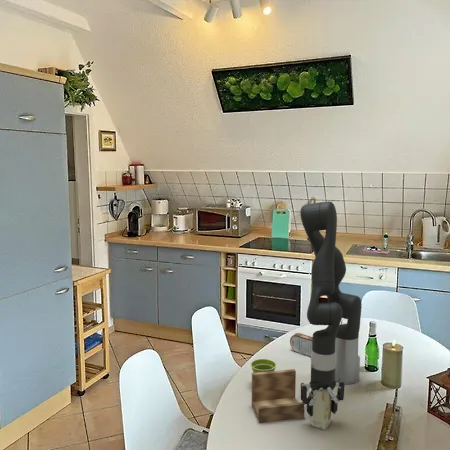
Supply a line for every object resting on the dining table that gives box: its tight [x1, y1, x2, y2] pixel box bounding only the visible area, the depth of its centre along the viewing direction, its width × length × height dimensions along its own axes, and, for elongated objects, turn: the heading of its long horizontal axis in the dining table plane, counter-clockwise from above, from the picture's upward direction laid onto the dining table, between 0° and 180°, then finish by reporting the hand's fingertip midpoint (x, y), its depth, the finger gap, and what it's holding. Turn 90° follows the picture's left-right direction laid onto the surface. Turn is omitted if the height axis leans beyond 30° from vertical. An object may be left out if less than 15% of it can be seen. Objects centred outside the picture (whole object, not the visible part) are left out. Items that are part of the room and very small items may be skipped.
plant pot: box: [250, 358, 277, 373], centre depth 171 cm, size 9×9×9 cm
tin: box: [289, 332, 313, 358], centre depth 199 cm, size 15×3×8 cm, turn 47°
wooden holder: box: [251, 368, 305, 424], centre depth 153 cm, size 15×10×12 cm
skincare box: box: [311, 389, 332, 430], centre depth 146 cm, size 6×4×12 cm
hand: (321, 413), depth 147 cm, fingers closed on skincare box, 7 cm apart
